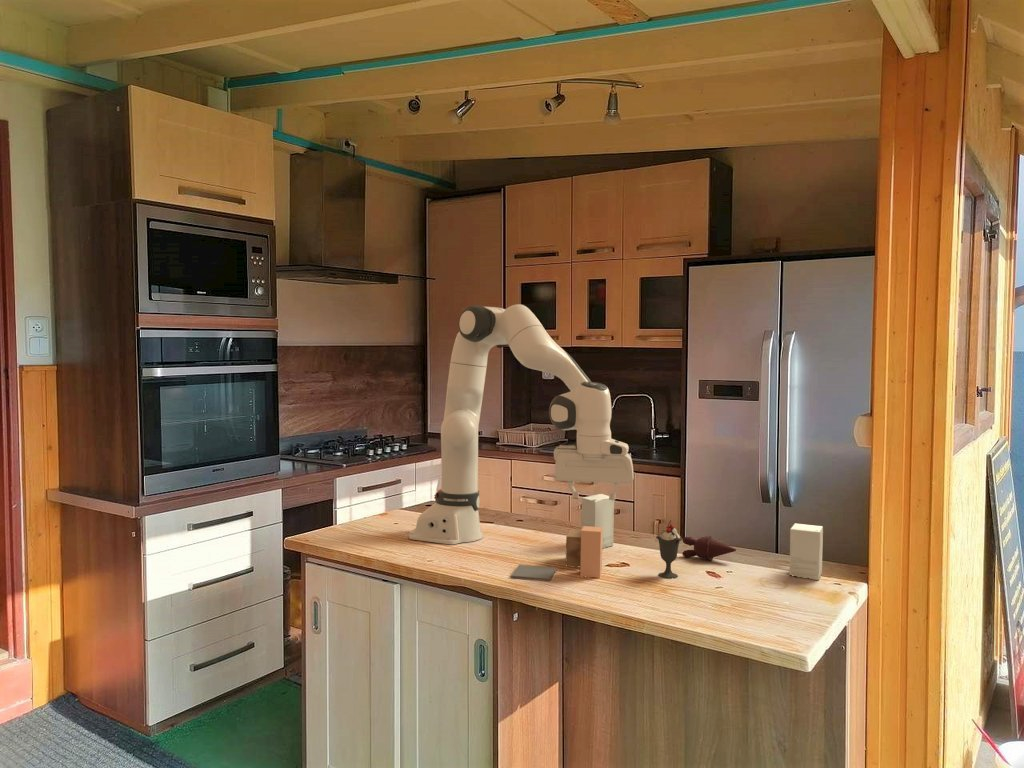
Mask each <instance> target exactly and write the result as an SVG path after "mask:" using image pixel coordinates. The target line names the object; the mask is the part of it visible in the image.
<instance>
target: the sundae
mask: <svg viewBox="0 0 1024 768" xmlns="http://www.w3.org/2000/svg"><path fill="white" fill-rule="evenodd" d="M671 522H672V520H671V519H670V520H669V523H668V524H667V526H666V527H665V528H664V529H663V531H662V533H661V532H660V533H659V534H658V535H656V537H655V539H657V540H658V544H659V553H660V558H661V559H662V560H663V562H664V563H665V565H666V566H665V570H664V571H663V572H659V573H658V577H660V578H662V577H663V578H664V579H668V578H669V579H670V580H671V579H672V578H673V579H676V578H678V577H679V575H678V574H677V573H676V572H675V573H674V572H673V571H672V563H673V562H674V561H676V559H677V555H678V552H679V551H678V550H679V546H680V542H681V541H682V540H683V537H682V536H681V535H680V534H679V533H678V530H677V529H676V528H675V527H674V525H673V524H671ZM663 578H662V579H663Z"/></svg>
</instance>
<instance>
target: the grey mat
mask: <svg viewBox="0 0 1024 768" xmlns="http://www.w3.org/2000/svg"><path fill="white" fill-rule="evenodd" d="M555 570H556V571H557V567H555V566H540V565H529V564H518V566H517V567H516V568H515V569H514V571H513V572H512V573H511V575H510V578H511V579H521V580H530V581H532V580H533V581H543V580H544V581H545V582H550V581H552V578H553V576H554V574H555V573H554V572H556V571H555Z"/></svg>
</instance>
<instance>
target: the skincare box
mask: <svg viewBox="0 0 1024 768" xmlns="http://www.w3.org/2000/svg"><path fill="white" fill-rule="evenodd" d="M614 515H615V500H609V495H606V494H604V493H598V494H593V495H589V496H588V495H587V496H584V497H581V523H580V525H581V526H580V528H581V529H580V530H582V528H583V526H590V527H603V539H602V549H604V548H608V547H612V546H614V530H615V529H614V523H615V522H614V518H615V516H614Z"/></svg>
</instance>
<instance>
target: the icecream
mask: <svg viewBox="0 0 1024 768" xmlns="http://www.w3.org/2000/svg"><path fill="white" fill-rule="evenodd" d="M681 541H682V543H683V544H685V545H687V546H690V547H692V546H693V549H685V550H684V551H682V553H681V555H682V556H683V558H692V557H696V556H697V557H698V558H699V559H701V560H705V561H709V562H712V561H713V559H714V558H715V557H720V556H724V555H726V554H729V553H735V552H736V551H737V549H736V548H734V547H733V546H729V545H727V544H724V543H722V542H720V541H717V540H714V539H713V538H712V536H711V535H709V536H701V537H698V538H697V539H694V538H693V536H684V537H682V540H681Z"/></svg>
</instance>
